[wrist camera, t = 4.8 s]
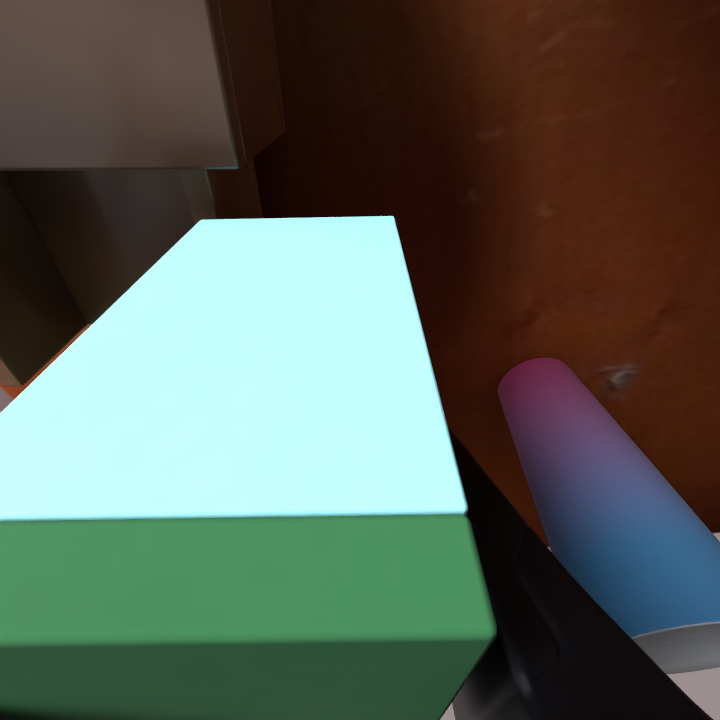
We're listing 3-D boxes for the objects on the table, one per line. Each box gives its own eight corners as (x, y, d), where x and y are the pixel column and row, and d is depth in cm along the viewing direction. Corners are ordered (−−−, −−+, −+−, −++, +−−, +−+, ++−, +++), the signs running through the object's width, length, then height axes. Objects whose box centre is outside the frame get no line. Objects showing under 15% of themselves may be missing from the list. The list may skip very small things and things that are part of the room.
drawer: (303, 397, 25) (290, 477, 20) (120, 398, 25) (61, 479, 20) (262, 96, 15) (215, 109, 10) (-49, 97, 15) (-257, 110, 10)
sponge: (388, 365, 14) (428, 741, 6) (242, 368, 14) (98, 745, 6) (394, 215, 11) (503, 638, 3) (200, 218, 11) (-250, 648, 3)
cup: (490, 427, 28) (587, 681, 16) (477, 362, 24) (592, 636, 13) (584, 405, 27) (763, 665, 15) (586, 333, 23) (831, 610, 11)
